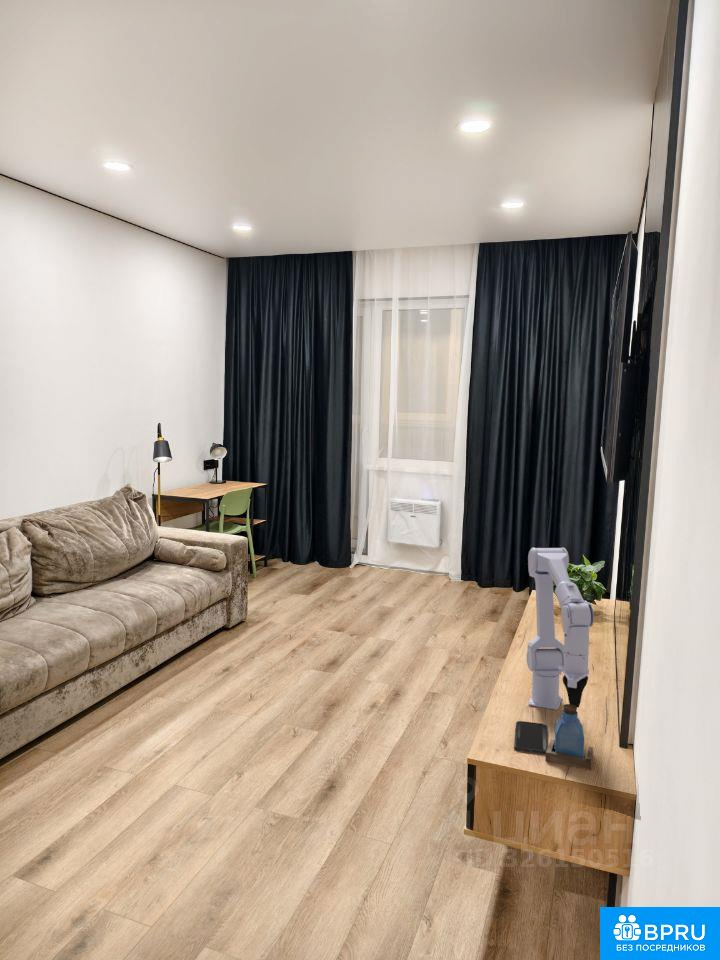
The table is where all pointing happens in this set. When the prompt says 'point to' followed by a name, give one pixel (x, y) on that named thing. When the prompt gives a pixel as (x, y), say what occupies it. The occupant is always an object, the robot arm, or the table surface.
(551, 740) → the bracket
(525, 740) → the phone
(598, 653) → the table surface
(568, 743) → the perfume bottle
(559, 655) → the robot arm
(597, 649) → the table surface
